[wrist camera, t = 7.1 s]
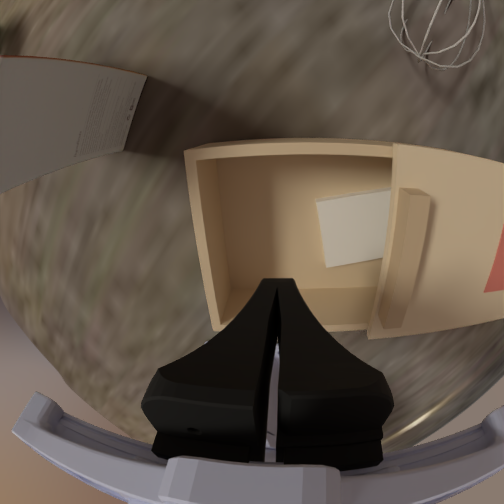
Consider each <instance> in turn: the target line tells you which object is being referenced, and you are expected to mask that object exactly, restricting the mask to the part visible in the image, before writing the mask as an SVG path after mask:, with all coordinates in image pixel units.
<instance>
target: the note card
mask: <svg viewBox="0 0 504 504" xmlns="http://www.w3.org/2000/svg"><path fill="white" fill-rule="evenodd" d="M390 195H391V187H387V188H380V189H373V190H366V191H360V192H354V193H347V194H341V195H335V196H329V197H323V198H318V199H315V200H316V206H317V211H318V218H319V224H320V230H321V237H322V244H323V251H324V258H325V264H326V268H329V267H334V266H340V265H346V264H351V263H357V262H362V261H367V260H373V259H378V258H383V254H384V247H385V240H386V233H387V225H388V216H389V207H390Z"/></svg>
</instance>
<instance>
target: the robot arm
mask: <svg viewBox="0 0 504 504" xmlns="http://www.w3.org/2000/svg"><path fill="white" fill-rule="evenodd" d="M277 337H278V343H277ZM393 407H394V402H393V397H392V393H391V390H390V388H389V386H388V383H387V381H386V379H385V377H384V375H383V373H382V372H380V371H378V370H377V369H375V368H373V367H371V366H370V365H368V364H366V363H365V362H363V361H361V360H360V359H358V358H357V357H356V356H354V355H353V354H351V353H350V352H349V351H348V350H347V349H345V348H344V347H343V346H342V345H341V344H339V343H338V342H337V341H336V340H335V339H334V338H333V337H332V336H331V335H330V334H329V333H328V332H327V331H326V329H325V328H324V327H323V326H322V325H321V324H320V322H319V321H318V320H317V319H316V317H315V316H314V315H313V313H312V312H311V310H310V309H309V307H308V306H307V304H306V302H305V301H304V299H303V297H302V296H301V294H300V292H299V290H298V288H297V285H296V282H295V280H294V279H293V278H263V279H262V280H261V282H260V284H259V285H258V287H257V289H256V290H255V292H254V294H253V295H252V296H251V298H250V299H249V301H248V302H247V303H246V305H245V306H244V307H243V308H242V310H241V311H240V312H239V313H238V314H237V315H236V317H235V318H234V319H233V320H232V321H231V322H230V323H229V324H228V325H227V326H226V327H225V328H224V329H223V330H222V331H220V332H219V333H218V334H217V335H216V336H214V337H213V338H212V339H211V340H209V341H206V342H205V343H204V345H202V346H201V347H199V348H198V349H196V350H195V351H193V352H191V353H190V354H188V355H186V356H184V357H182V358H180V359H178V360H176V361H174V362H172V363H170V364H168V365H165V366H163V367H161V368H158V370H157V372H156V374H155V375H154V377H153V378H152V380H151V382H150V384H149V386H148V388H147V391H146V393H145V395H144V397H143V400H142V402H141V408H142V410H143V412H144V414H145V416H146V417H147V418H148V420H149V421H150V422H151V424H152V425H153V426H154V428H155V429H156V430H157V434H156V437H155V440H154V443H153V445H151V444H148V443H144V442H141V441H137V440H134V439H131V438H128V437H124V436H122V435H118V434H116V433H113V432H110V431H107V430H105V429H102V428H99V427H97V426H94V425H92V424H89V423H87V422H85V421H82V420H80V419H78V418H75V417H73V416H71V415H69V414H67V413H65V412H64V411H63V410H62V408H61V407H60V406H59V405H58V404H57V403H56V402H55V401H53V400H52V399H50V398H48V397H46V396H44V395H43V394H41V393H39V392H35V393H34V394H33V396H32V397H31V399H30V401H29V402H28V404H27V405H26V407H25V408H24V410H23V412H22V413H21V415H20V417H19V418H18V420H17V422H16V423H15V425H14V427H13V428H12V432H13V433H14V434H15V435H16V436H17V437H18V438H20V439H21V440H22V441H23V442H24V443H25V444H27V445H28V446H29V447H30V448H32V449H33V450H34V451H35V452H37V453H38V454H39V455H41V456H42V457H43V458H45V459H46V460H48V461H49V462H51V463H52V464H54V465H56V466H57V467H58V468H60V469H62V470H63V471H65V472H67V473H69V474H70V475H72V476H74V477H75V478H77V479H79V480H81V481H83V482H84V483H86V484H88V485H90V486H92V487H94V488H96V489H98V490H100V491H102V492H104V493H107V494H109V495H111V496H113V497H115V498H118V499H120V500H123V501H125V502H127V503H128V504H436V503H438V502H441V501H443V500H446V499H448V498H450V497H452V496H455V495H457V494H459V493H461V492H463V491H465V490H467V489H469V488H471V487H473V486H475V485H477V484H478V483H480V482H482V481H484V480H486V479H488V478H489V477H491V476H493V475H494V474H496V473H497V472H499V471H500V470H502V469H503V468H504V405H503V406H501V407H499V408H497V409H495V410H494V411H492V412H491V413H490V414H489V415H488V416H486V418H485V419H484V420H483V421H482V423H480V424H478V425H475V426H473V427H471V428H468V429H466V430H463V431H460V432H458V433H455V434H453V435H450V436H447V437H444V438H441V439H438V440H435V441H431V442H428V443H425V444H421V445H417V446H414V447H410V448H406V449H402V450H397V451H393V452H388V453H383V452H382V446H381V440H382V438H383V431H382V425H383V424H384V422H385V421H386V419H387V418H388V416H389V415H390V413H391V412H392V409H393Z"/></svg>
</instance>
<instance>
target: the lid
mask: <svg viewBox="0 0 504 504" xmlns="http://www.w3.org/2000/svg"><path fill="white" fill-rule="evenodd" d="M502 318H504V163H501V162H497V161H493V160H490V159H485V158H481V157H477V156H472V155H468V154H463V153H458V152H453V151H447V150H441V149H435V148H429V147H422V146H415V145H407V144H398V143H393V162H392V182H391V195H390V207H389V216H388V225H387V233H386V240H385V247H384V254H383V260H382V266H381V272H380V277H379V282H378V287H377V292H376V297H375V301H374V306H373V310H372V314H371V319H370V323H369V326H368V330H367V336H368V339H379V338H390V337H399V336H407V335H415V334H423V333H430V332H436V331H443V330H449V329H454V328H460V327H465V326H470V325H475V324H480V323H485V322H489V321H493V320H498V319H502Z"/></svg>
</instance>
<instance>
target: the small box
mask: <svg viewBox="0 0 504 504" xmlns="http://www.w3.org/2000/svg"><path fill="white" fill-rule="evenodd" d="M146 78H147V75H144V74H140V73H137V72H133V71H128V70H123V69H119V68H115V67H108V66H103V65H98V64H93V63H87V62H80V61H73V60H66V59H57V58H47V57H35V56H10V55H0V194H1V193H3V192H6V191H8V190H10V189H12V188H14V187H17V186H19V185H21V184H24V183H26V182H28V181H31V180H33V179H36V178H39V177H41V176H44V175H46V174H49V173H52V172H54V171H57V170H60V169H63V168H65V167H68V166H71V165H74V164H77V163H80V162H83V161H87V160H90V159H93V158H97V157H100V156H105V155H108V154H112V153H115V152H120V151H123V149H124V146H125V142H126V139H127V135H128V132H129V129H130V125H131V122H132V119H133V115H134V112H135V109H136V106H137V103H138V100H139V97H140V94H141V92H142V89H143V86H144V83H145V81H146Z"/></svg>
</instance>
